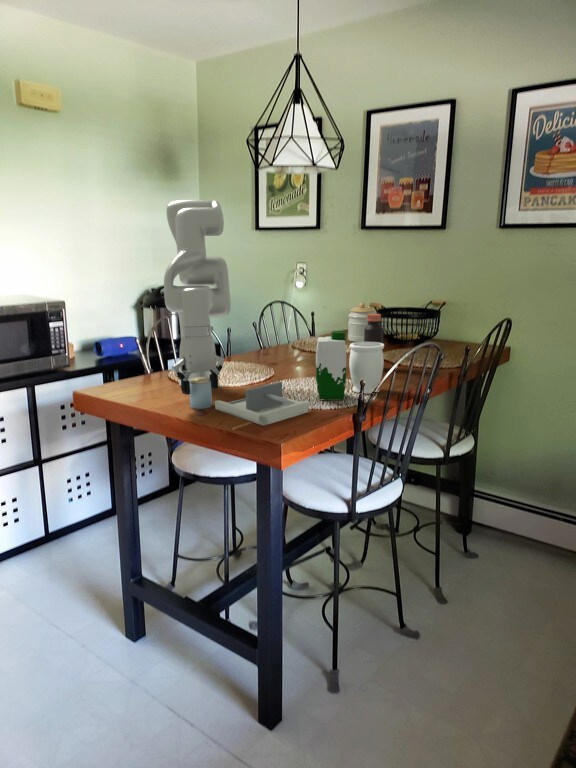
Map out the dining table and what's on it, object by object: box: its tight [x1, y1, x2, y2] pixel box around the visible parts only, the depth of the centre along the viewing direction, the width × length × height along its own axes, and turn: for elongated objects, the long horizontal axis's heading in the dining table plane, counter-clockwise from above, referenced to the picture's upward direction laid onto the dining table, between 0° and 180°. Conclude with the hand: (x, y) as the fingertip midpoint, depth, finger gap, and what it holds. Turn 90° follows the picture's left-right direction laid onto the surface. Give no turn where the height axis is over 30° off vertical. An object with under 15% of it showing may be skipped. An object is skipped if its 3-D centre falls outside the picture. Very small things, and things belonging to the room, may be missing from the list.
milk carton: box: [315, 330, 347, 400], centre depth 170 cm, size 9×9×20 cm
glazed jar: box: [189, 377, 213, 410], centre depth 165 cm, size 6×6×8 cm
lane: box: [214, 396, 309, 426], centre depth 160 cm, size 21×16×3 cm
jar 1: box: [347, 302, 375, 343], centre depth 266 cm, size 13×13×18 cm
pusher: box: [245, 381, 287, 412], centre depth 155 cm, size 9×12×6 cm
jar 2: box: [348, 342, 385, 395], centre depth 177 cm, size 11×10×15 cm
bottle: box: [364, 313, 384, 353], centre depth 206 cm, size 7×7×20 cm
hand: (200, 390), depth 164 cm, fingers open, 9 cm apart
